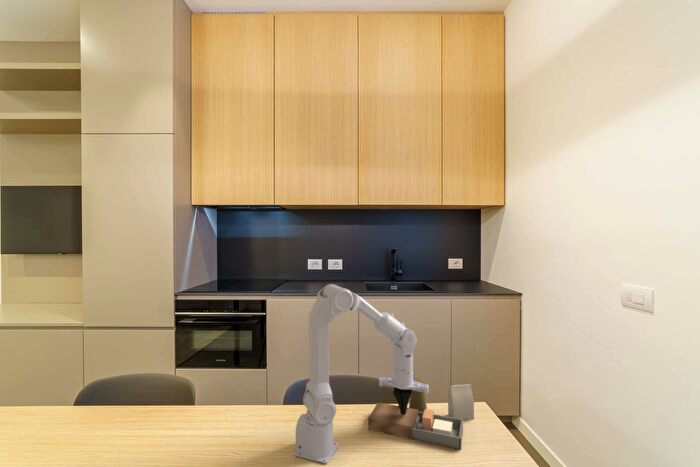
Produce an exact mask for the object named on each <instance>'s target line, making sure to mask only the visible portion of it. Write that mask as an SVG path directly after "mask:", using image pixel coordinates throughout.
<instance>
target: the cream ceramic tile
mask: <svg viewBox="0 0 700 467" xmlns="http://www.w3.org/2000/svg"><path fill="white" fill-rule="evenodd" d="M452 431H453V422H449V421H443V420H438V419H435V420H434V424H433V432H436V433H441V434H446V435H451V436H452Z"/></svg>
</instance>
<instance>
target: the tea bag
mask: <svg viewBox="0 0 700 467" xmlns="http://www.w3.org/2000/svg"><path fill="white" fill-rule="evenodd" d="M474 401H475V400H474V393H473V390H472V384H470V383H469V384H466V383H465V384H454V385H449V390H448V395H447V412H448V417H453V418H458V419H463V421H469V420H470V421H471V420H474V419H475V402H474Z"/></svg>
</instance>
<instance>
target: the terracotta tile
mask: <svg viewBox="0 0 700 467" xmlns="http://www.w3.org/2000/svg"><path fill="white" fill-rule="evenodd" d="M434 410H435V409H434ZM434 410H433V409H429V408H427V409H425V411H424V414H423V417H422V427H423V430H426V431H431V432H433V424H434V414H435V411H434Z"/></svg>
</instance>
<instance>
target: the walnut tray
mask: <svg viewBox="0 0 700 467" xmlns="http://www.w3.org/2000/svg"><path fill="white" fill-rule="evenodd" d="M418 411H419V410H418V409H412V408H409V407H407V412H406V414H405V415H402V414H401V413H400V408H399V405H395V404H388V403H384V402H377V403H376V405H375V406H374V407H373V410H372V411H371V413H370V414H369V416H368V418H367V426H368V427H367V428H368V429H367V430H368V431H372V432H374V433H375V432H376V433H381V434H385V435H390V436H394V437H399V438H404V439H408V440H413V439H412V428H414V426H415V423H416V420H417V418H418Z"/></svg>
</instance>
